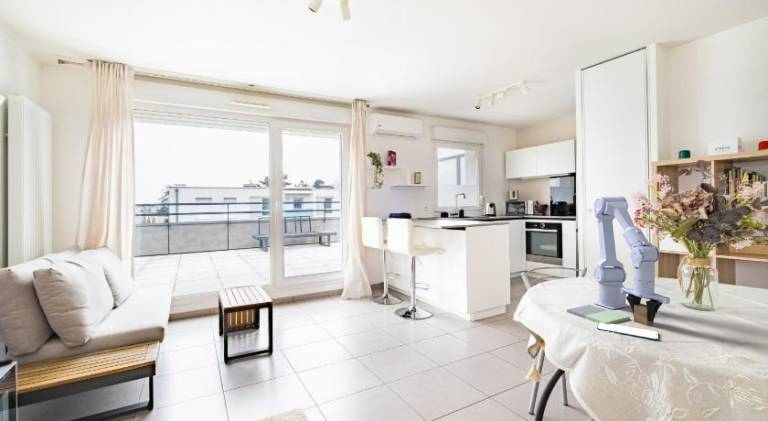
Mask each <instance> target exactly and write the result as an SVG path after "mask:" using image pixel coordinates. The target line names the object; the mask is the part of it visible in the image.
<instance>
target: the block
mask: <svg viewBox="0 0 768 421" xmlns="http://www.w3.org/2000/svg"><path fill="white" fill-rule="evenodd" d="M654 321H655V320H654ZM654 321H651V322H650V321H648V309H647V304H646V303H640V304H636V305H634V315H633V322H634V323H637V324H639V325H642V326H650V325H653V324H654Z"/></svg>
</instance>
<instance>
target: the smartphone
mask: <svg viewBox="0 0 768 421" xmlns="http://www.w3.org/2000/svg"><path fill="white" fill-rule="evenodd" d="M597 324H598V325H597V326H596V329H597V330H598V331H602V330H603V332H607V331H609V332H608V333H612V332H614V333H613V334H617V333H619V334H618V335H624V336H628V337H633V338H639V339H644V340H649V341H652V342H653V341H654V342H659V332H658V331H657V330H652V329H646V328H640V327H634V326H627V325H622V324H617V323H613V324H611V323H609V324H603V323H600V322H599V323H597Z"/></svg>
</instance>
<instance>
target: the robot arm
mask: <svg viewBox="0 0 768 421" xmlns="http://www.w3.org/2000/svg"><path fill="white" fill-rule="evenodd" d="M628 209H629V203H628V200H627V198H626V197H625V196H621V195H620V196H598V197H596V199H595V200H594V202H593V211H594V217H595V218H596V220H597V222H596V223H597V230H598V240H599V250H600V258H601V259H600V260H599V261H597V262H596V263H594V271H593V278H594V279H595V281H596V282H597V283H598V301H595V302H593V304H594V305H598V306H600V307H604V308H608V309H609V310H611V309H612V310H616V309H620V308H621V309H622V308H624V307H625V308H626V307H628V306H629V307H630V308H631V312H632V315H633V316H634V305H636V304H642V303H641V301H642V299H646V301H645V305H647V309H648V321H650V322H651V321H655V318H656V315H657V313H658V311H659V309H660V307H661V306H663V304H664V305H669V304H671V300H670V299H671V297H668V296H665V295H661V294H659V293H655V286H656V285H655V283H656V280H655V279H656V278H655V276H656V275H655V274H656V267H655V266H656V262H658V261H659V260H660V257H661V255H660V250H659V249H658V248H659V247H657V246H656V245H654V244H653V243H652V242H649V241H648V239H647V237H646V235H645V234H644V233H643V231H642V229H641V228H639V227H636V226H635V223H634V222H633V220H632V217H631V216H630V213H629V211H628ZM614 219H616V221H617V222H618V223H619V225H620V227H621V228H622V229H623V231H624V232H623V234H622V236H623V238H624V239H625V241H626V243H627V245H628V247H629V248H630V252H629V257H630V258H631V264H632V267H633V288H628V287H625V285H624V284H623V283H625V281H626V280H627V273H626V270H625V266H624V263H622V262H621V261H619V260H618V259H617V250H616V243H615V241H616V240H615V233H614V232H615V231H614V224H613V221H614ZM626 301H627V302H628V304H629V305H628V304H627V302H626Z"/></svg>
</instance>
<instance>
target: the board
mask: <svg viewBox="0 0 768 421" xmlns="http://www.w3.org/2000/svg"><path fill="white" fill-rule="evenodd" d="M566 313H569V314H571V315H574V316H577V317H579V318H580V317H581V318H583V319H586V320H589V321H592V322H595V323H597V324H599V322H600V323H603V324H609V323H611V324H617V323H620V322H625V321H627V320H630V316H628V315H626V314H622V313H619V312H616V311H612V310H610V309H605V308H601V307H599V306H595V305H591V304H587V305H583V306H577V307H573V308H568V309H566Z"/></svg>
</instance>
